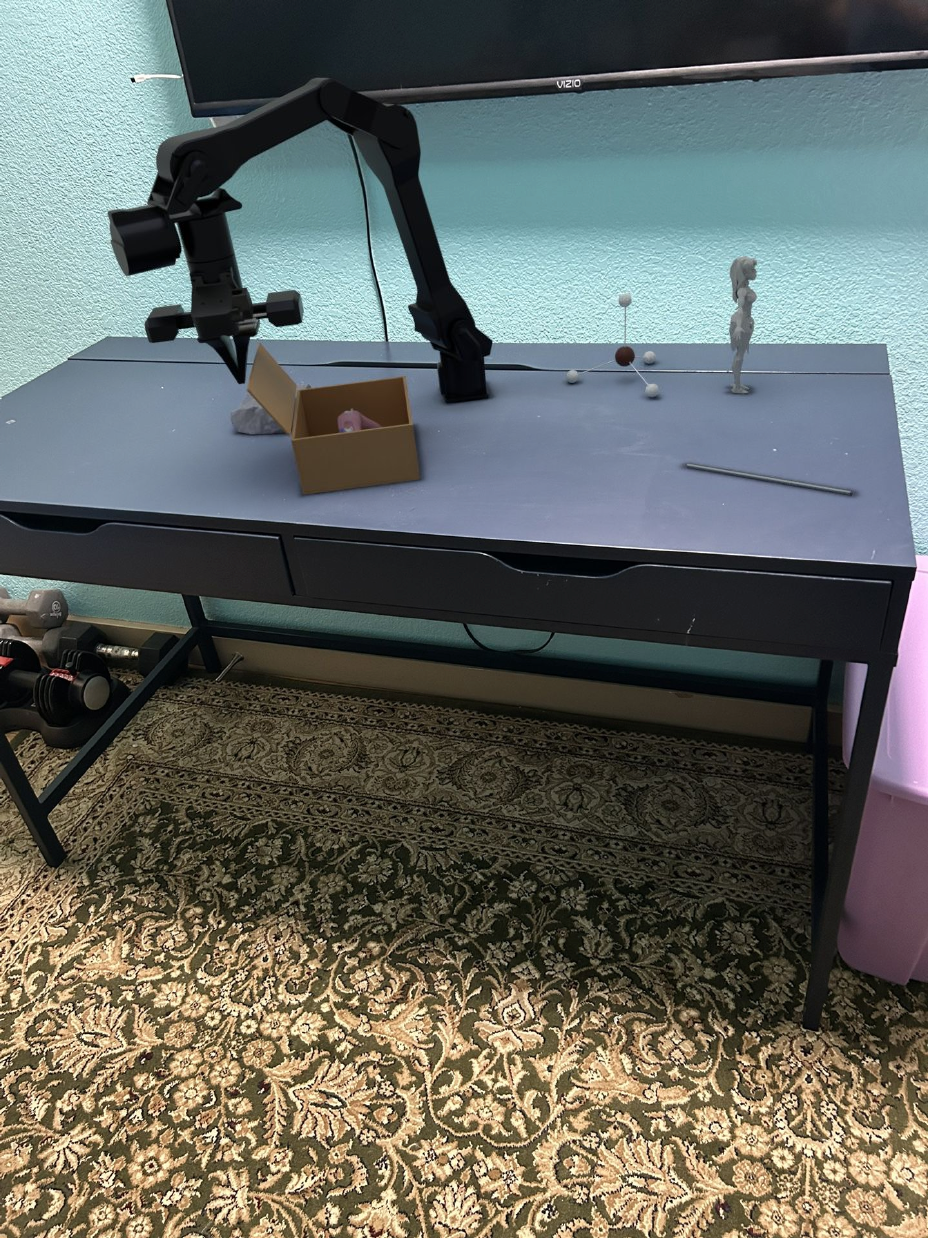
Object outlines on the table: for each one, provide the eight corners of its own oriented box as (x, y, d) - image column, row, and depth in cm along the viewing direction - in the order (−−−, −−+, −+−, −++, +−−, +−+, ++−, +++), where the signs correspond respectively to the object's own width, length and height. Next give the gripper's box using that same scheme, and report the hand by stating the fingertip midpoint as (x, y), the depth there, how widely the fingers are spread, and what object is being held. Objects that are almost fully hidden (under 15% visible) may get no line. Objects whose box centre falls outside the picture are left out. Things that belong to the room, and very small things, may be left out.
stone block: (233, 445, 131) (293, 432, 128) (219, 414, 129) (280, 400, 125) (264, 415, 141) (321, 402, 137) (252, 386, 138) (309, 372, 135)
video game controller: (361, 450, 124) (330, 410, 120) (388, 432, 123) (358, 392, 119) (362, 482, 116) (329, 441, 112) (391, 464, 115) (358, 421, 111)
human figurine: (746, 407, 121) (759, 269, 111) (717, 407, 122) (727, 270, 112) (750, 374, 130) (762, 244, 120) (723, 374, 131) (733, 245, 121)
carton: (420, 479, 113) (412, 424, 109) (303, 495, 112) (290, 440, 108) (412, 426, 127) (405, 375, 122) (307, 440, 126) (297, 389, 122)
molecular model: (564, 381, 135) (562, 296, 127) (651, 360, 139) (653, 276, 131) (608, 411, 124) (608, 320, 117) (701, 387, 128) (706, 297, 121)
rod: (850, 497, 100) (851, 492, 100) (686, 469, 109) (686, 464, 109) (852, 495, 100) (853, 489, 100) (688, 467, 109) (688, 461, 109)
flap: (248, 388, 104) (246, 390, 104) (290, 434, 108) (288, 436, 108) (259, 342, 118) (258, 343, 118) (296, 384, 121) (295, 386, 121)
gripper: (117, 284, 100) (158, 416, 109) (285, 263, 100) (312, 396, 109) (136, 259, 109) (173, 383, 118) (290, 240, 109) (315, 365, 118)
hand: (242, 382), depth 115 cm, fingers closed
